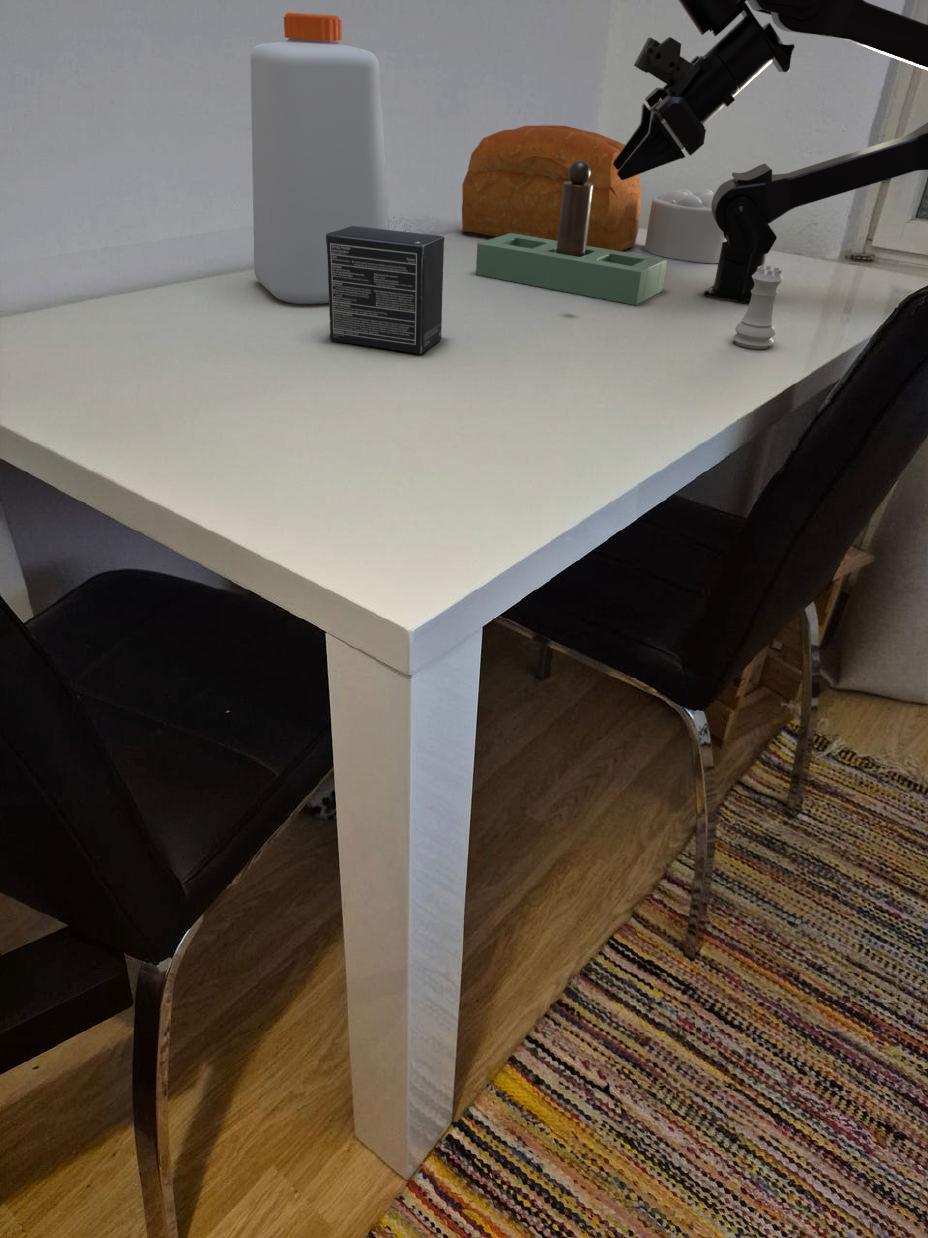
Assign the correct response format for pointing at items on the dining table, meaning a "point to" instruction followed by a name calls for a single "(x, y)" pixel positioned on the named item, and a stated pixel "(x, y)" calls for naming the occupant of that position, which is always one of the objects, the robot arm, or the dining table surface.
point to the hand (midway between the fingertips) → (617, 171)
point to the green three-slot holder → (571, 268)
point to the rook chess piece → (759, 311)
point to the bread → (548, 185)
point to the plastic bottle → (313, 153)
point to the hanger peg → (575, 211)
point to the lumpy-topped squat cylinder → (684, 227)
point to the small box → (385, 288)
